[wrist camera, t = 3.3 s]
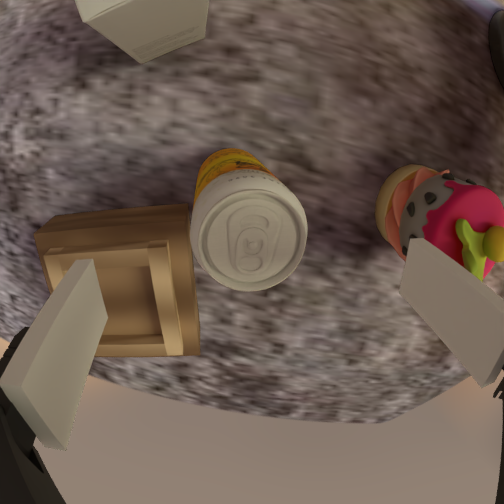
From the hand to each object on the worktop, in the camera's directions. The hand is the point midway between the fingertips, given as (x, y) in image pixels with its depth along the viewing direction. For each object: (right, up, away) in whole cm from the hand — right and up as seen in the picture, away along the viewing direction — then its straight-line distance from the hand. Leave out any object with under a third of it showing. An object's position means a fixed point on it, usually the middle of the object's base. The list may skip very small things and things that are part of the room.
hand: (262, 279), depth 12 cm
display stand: (-13, -1, +19) cm, 23 cm away
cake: (+17, +6, +20) cm, 27 cm away
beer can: (-2, +8, +17) cm, 19 cm away
